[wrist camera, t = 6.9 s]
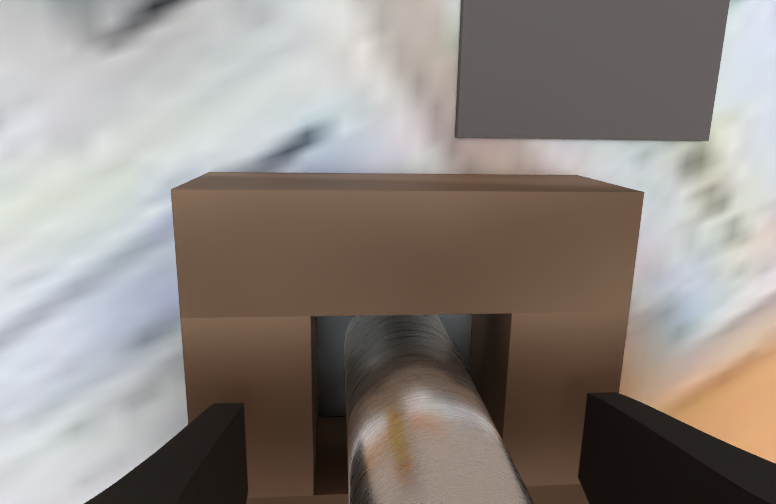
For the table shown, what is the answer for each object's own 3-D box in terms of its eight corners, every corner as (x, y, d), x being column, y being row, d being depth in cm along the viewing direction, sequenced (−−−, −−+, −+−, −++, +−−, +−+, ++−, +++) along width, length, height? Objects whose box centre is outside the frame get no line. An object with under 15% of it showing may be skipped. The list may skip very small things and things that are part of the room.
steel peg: (442, 391, 17) (555, 687, 8) (342, 390, 16) (349, 698, 8) (450, 295, 16) (583, 509, 7) (345, 294, 16) (355, 513, 7)
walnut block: (546, 488, 18) (595, 575, 15) (228, 501, 17) (201, 598, 14) (577, 175, 16) (644, 192, 12) (209, 172, 15) (170, 189, 11)
